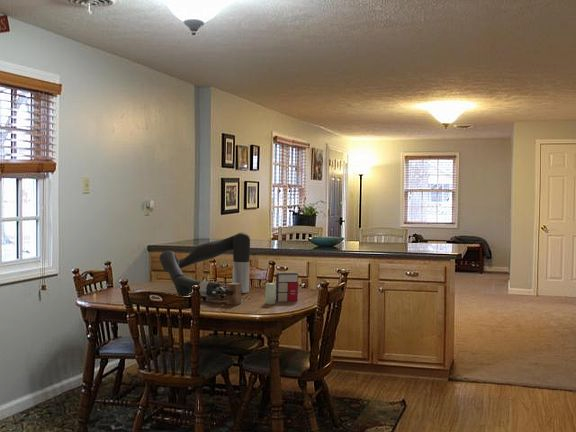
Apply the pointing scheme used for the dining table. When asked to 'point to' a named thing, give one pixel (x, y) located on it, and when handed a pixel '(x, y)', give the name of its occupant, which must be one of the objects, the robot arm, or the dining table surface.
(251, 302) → the dining table surface
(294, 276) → the miniature cabinet
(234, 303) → the walnut block
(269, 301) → the sage cylinder
